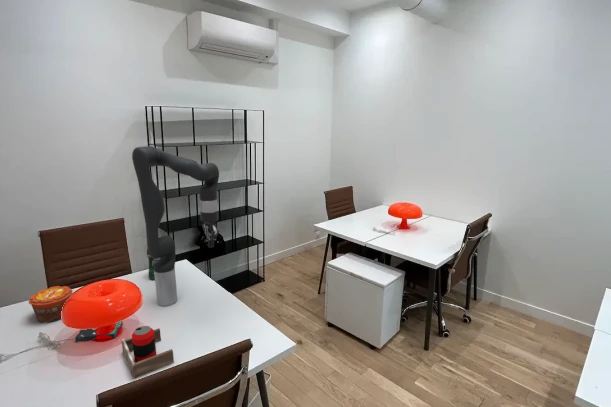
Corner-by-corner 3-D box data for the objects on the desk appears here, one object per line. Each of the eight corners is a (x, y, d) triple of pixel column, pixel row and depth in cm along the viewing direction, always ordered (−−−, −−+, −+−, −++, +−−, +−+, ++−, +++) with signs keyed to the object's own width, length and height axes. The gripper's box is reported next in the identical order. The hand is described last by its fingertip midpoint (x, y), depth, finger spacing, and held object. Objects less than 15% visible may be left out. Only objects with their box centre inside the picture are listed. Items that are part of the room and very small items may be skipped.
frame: (123, 352, 134) (121, 339, 132) (160, 338, 142) (158, 326, 141) (133, 378, 121) (131, 365, 119) (173, 362, 129) (172, 349, 127)
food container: (35, 311, 161) (31, 289, 158) (76, 302, 169) (73, 282, 166) (29, 329, 147) (24, 306, 145) (74, 318, 155) (70, 297, 152)
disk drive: (75, 344, 139) (116, 339, 142) (74, 337, 139) (115, 333, 142) (86, 328, 149) (123, 324, 152) (84, 323, 148) (122, 318, 151)
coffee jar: (148, 281, 190) (145, 249, 186) (149, 275, 198) (145, 244, 193) (167, 278, 194) (164, 247, 190) (167, 272, 201) (164, 242, 197)
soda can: (146, 349, 136) (143, 322, 133) (161, 355, 133) (158, 327, 130) (129, 361, 129) (126, 333, 126) (145, 367, 126) (141, 338, 123)
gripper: (195, 207, 153) (197, 244, 158) (206, 214, 143) (209, 253, 148) (211, 205, 158) (213, 241, 162) (223, 211, 148) (225, 249, 152)
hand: (211, 247), depth 155 cm, fingers closed
